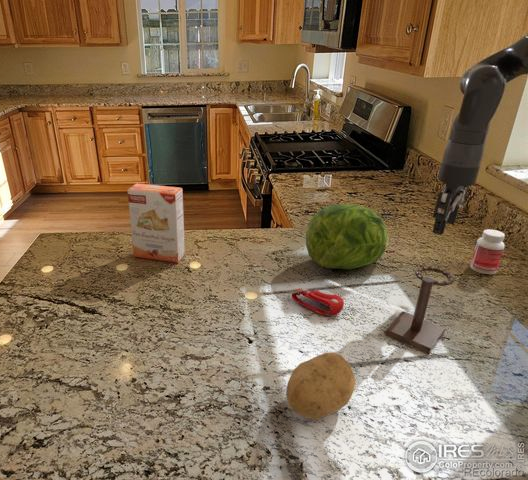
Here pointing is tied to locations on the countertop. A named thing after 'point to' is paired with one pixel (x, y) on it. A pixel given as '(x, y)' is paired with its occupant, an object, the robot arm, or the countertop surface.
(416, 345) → the post
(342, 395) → the potato
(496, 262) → the pill bottle
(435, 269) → the ring
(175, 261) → the cracker box
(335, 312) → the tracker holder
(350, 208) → the lettuce
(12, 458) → the countertop surface
